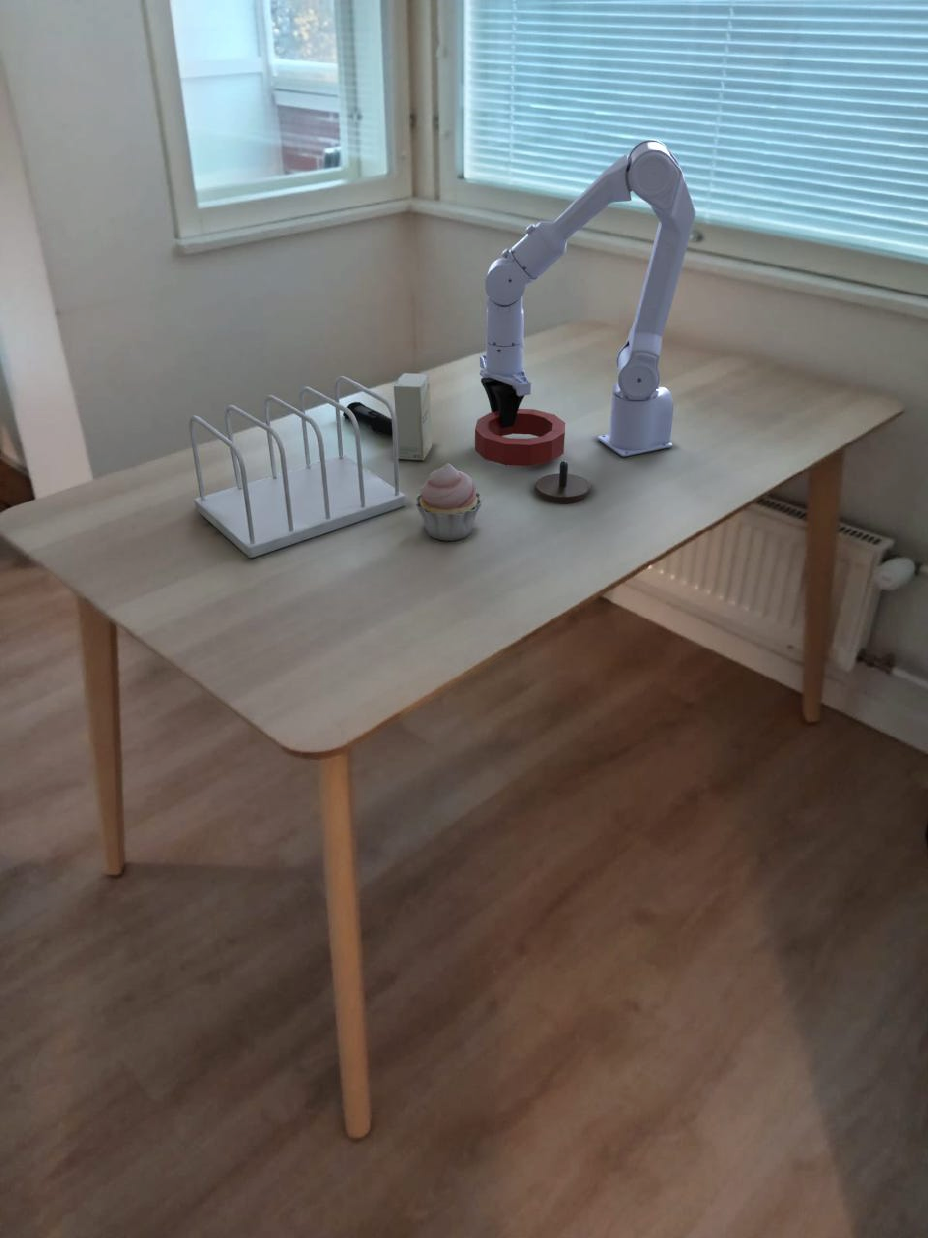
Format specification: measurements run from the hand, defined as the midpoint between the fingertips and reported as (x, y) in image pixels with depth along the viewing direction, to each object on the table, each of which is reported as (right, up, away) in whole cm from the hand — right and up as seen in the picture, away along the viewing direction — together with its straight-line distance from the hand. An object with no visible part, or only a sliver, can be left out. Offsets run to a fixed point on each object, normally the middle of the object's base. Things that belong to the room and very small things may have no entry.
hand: (503, 423), depth 155 cm
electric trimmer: (-21, 0, +6) cm, 22 cm away
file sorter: (-30, -16, -17) cm, 38 cm away
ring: (+2, -4, -4) cm, 6 cm away
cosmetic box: (-14, -5, -2) cm, 15 cm away
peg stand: (+8, -13, -14) cm, 21 cm away
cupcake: (-9, -20, -23) cm, 32 cm away
